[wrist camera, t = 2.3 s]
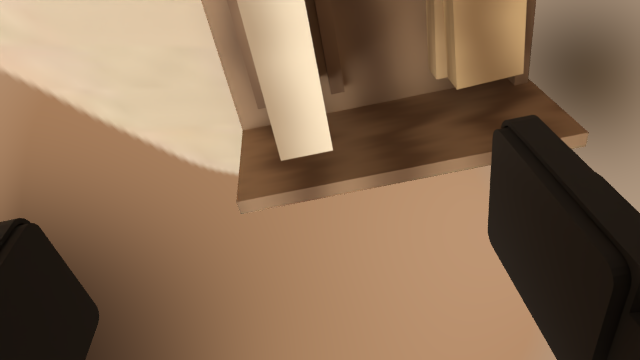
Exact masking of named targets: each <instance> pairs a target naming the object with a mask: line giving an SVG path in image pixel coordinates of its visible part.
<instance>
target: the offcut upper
mask: <svg viewBox="0 0 640 360" xmlns="http://www.w3.org/2000/svg"><path fill="white" fill-rule="evenodd" d="M443 5H444V23H445V40H446V58H447V75H448V79H449V80H450V81H451V83H452V84H453V85H454V87H455V88H456V89H457V90H458V89H462V88H466V87H470V86H475V85H479V84H483V83H487V82H491V81H495V80H500V79H504V78H508V77H512V76H516V75H520V74H523V69H524V49H525V28H526V7H527V0H443Z"/></svg>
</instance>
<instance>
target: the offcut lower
mask: <svg viewBox="0 0 640 360" xmlns="http://www.w3.org/2000/svg"><path fill="white" fill-rule="evenodd" d="M426 17H427V43H428V69H429V70H430V71H431V73H432V74H433V76H434V77H435V78H436V79H441V78H446V77H448V75H447V58H446V40H445V23H444V5H443V0H426Z"/></svg>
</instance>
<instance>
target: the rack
mask: <svg viewBox="0 0 640 360" xmlns="http://www.w3.org/2000/svg"><path fill="white" fill-rule="evenodd" d="M201 1H202V4H203V7H204V11H205V14H206V17H207V20H208V23H209V26H210V29H211V32H212V36H213V39H214V42H215V45H216V48H217V51H218V54H219V57H220V61H221V64H222V67H223V70H224V73H225V76H226V79H227V82H228V86H229V89H230V92H231V95H232V98H233V101H234V104H235V107H236V111H237V114H238V117H239V120H240V123H241V126H242V129H243V135H242V146H241V157H240V169H239V181H238V191H237V205H238V207H239V210H240V213H241V214H244V213H249V212H254V211H259V210H264V209H269V208H274V207H280V206H285V205H289V204H295V203H300V202H305V201H310V200H315V199H320V198H325V197H330V196H335V195H341V194H345V193H351V192H356V191H361V190H366V189H371V188H376V187H381V186H386V185H391V184H396V183H401V182H406V181H412V180H417V179H422V178H427V177H432V176H437V175H442V174H447V173H452V172H457V171H462V170H468V169H473V168H477V167H483V166H488V165H491V158H492V138H493V132H494V131H495V130H496V129H501V125H502V123H503V121H505V120H508V119H513V118H518V117H523V116H528V115H536V116H538V117H539V118H540V119H541V120H542V121H543V122H544V123H545V124H546V125H547V126H548V127H549V128H550V129H551V130H552V131H553V132H554V133H555V134H556V135H557V136H558V137H559V138H560V139H561V140H562V141H563V142H564V143H565V144H566V145H568V146H569V147H570V148H571V149H574V148H579V147H584V146H586V143H587V138H588V133H589V132H587V131H586V130H585V129H584V128H583V127H582V126H581V125H580V124H579V123H577V122H576V121H575V120H574V119H573V118H572V117H571V116H569V115H568V114H567V113H566V112H565V111H564V110H563V109H562V108H560V107H559V106H558V105H557V104H556V103H555V102H554V101H553V100H551V99H550V98H549V97H548V96H547V95H546V94H545V93H544V92H543V91H542V90H540V89H539V88H538V87H537V86H536V85H535V84H534V83H533V82H531V81H530V80H529V79H528V75H529V66H530V55H531V45H532V36H533V25H534V15H535V6H536V0H527V7H526V28H525V49H524V69H523V74H520V75H516V76H512V77H508V78H504V79H500V80H495V81H491V82H487V83H483V84H479V85H475V86H470V87H466V88H462V89H458V90H457V89H456V88H455V87H454V85H453V84H452V83H451V81H450V80H449V79H448V77H446V78H441V79H436V78H435V77H434V76H433V74H432V73H431V71H430V70H429V69H428V43H427V17H426V0H304V1H305V6H306V11H307V16H308V22H309V27H310V32H311V37H312V43H313V48H314V53H315V58H316V64H317V69H318V74H319V79H320V85H321V90H322V95H323V100H324V106H325V111H326V116H327V121H328V127H329V132H330V137H331V142H332V147H333V151H328V152H323V153H318V154H313V155H308V156H303V157H298V158H293V159H288V160H283V161H281V159H280V155H279V152H278V148H277V145H276V141H275V137H274V134H273V130H272V126H271V123H270V119H269V116H268V112H267V108H266V105H265V101H264V97H263V94H262V90H261V86H260V83H259V79H258V76H257V72H256V68H255V65H254V61H253V57H252V54H251V50H250V47H249V43H248V39H247V36H246V32H245V28H244V25H243V21H242V17H241V14H240V10H239V7H238V3H237V0H201Z"/></svg>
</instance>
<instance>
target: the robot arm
mask: <svg viewBox="0 0 640 360" xmlns="http://www.w3.org/2000/svg"><path fill="white" fill-rule="evenodd" d="M488 235H489V239H490V242H491V245H492V246H493V248H494V250H495V252H496V254H497V255H498V257H499V259H500V260H501V262H502V264H503V266H504V268H505V269H506V271H507V273H508V274H509V276H510V278H511V280H512V282H513V283H514V285H515V287H516V289H517V290H518V292H519V294H520V295H521V297H522V299H523V301H524V303H525V304H526V306H527V308H528V310H529V311H530V313H531V315H532V317H533V318H534V320H535V322H536V324H537V325H538V327H539V329H540V330H541V332H542V334H543V336H544V338H545V339H546V341H547V343H548V345H549V346H550V348H551V350H552V352H553V353H554V355H555V357H556V359H557V360H640V213H639V212H638V211H637V210H636V209H635V208H634V207H633V206H631V204H630V203H629V202H628V201H626V200H625V199H624V198H623V197H622V196H621V195H620V194H619V193H618V192H617V191H616V190H615V189H614V188H613V187H612V186H611V185H610V184H609V183H608V182H607V181H606V180H605V179H604V178H603V177H601V176H600V175H599V174H597V173H596V172H594V171H593V170H592V169H591V168H590V167H589V166H588V165H587V164H586V163H585V162H584V161H583V160H582V159H581V158H580V157H579V156H578V155H577V154H576V153H575V152H573V150H572V149H571V148H570V147H569V146H568V145H566V144H565V143H564V142H563V141H562V140H561V139H560V138H559V137H558V136H557V135H556V134H555V133H554V132H553V131H552V130H551V129H550V128H549V127H548V126H547V125H546V124H545V123H544V122H543V121H542V120H541V119H540V118H539V117H538V116H536V115H528V116H523V117H518V118H513V119H508V120H505V121H503V123H502V125H501V129H496V130H495V131H494V132H493V138H492V158H491V177H490V196H489V217H488ZM98 321H99V311H98V308H97V306H96V305H95V303H94V302H93V300H92V299H91V298H90V296H89V295H88V293H87V292H86V291H85V289H84V288H83V287H82V285H81V284H80V282H79V281H78V279H77V278H76V277H75V275H74V274H73V273H72V271H71V270H70V269H69V267H68V266H67V264H66V263H65V262H64V260H63V259H62V257H61V256H60V255H59V253H58V252H57V251H56V249H55V248H54V246H53V245H52V244H51V242H50V241H49V239H48V238H47V237H46V236H45V234H44V232H43V231H42V230H41V228H40V227H39V226H38V225H36V224H34V223H30V222H29V221H28V220H26V219H22V218H18V219H13V220H8V221H3V222H0V360H85V359H86V356H87V353H88V350H89V347H90V345H91V342H92V339H93V336H94V333H95V331H96V328H97V325H98Z"/></svg>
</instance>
